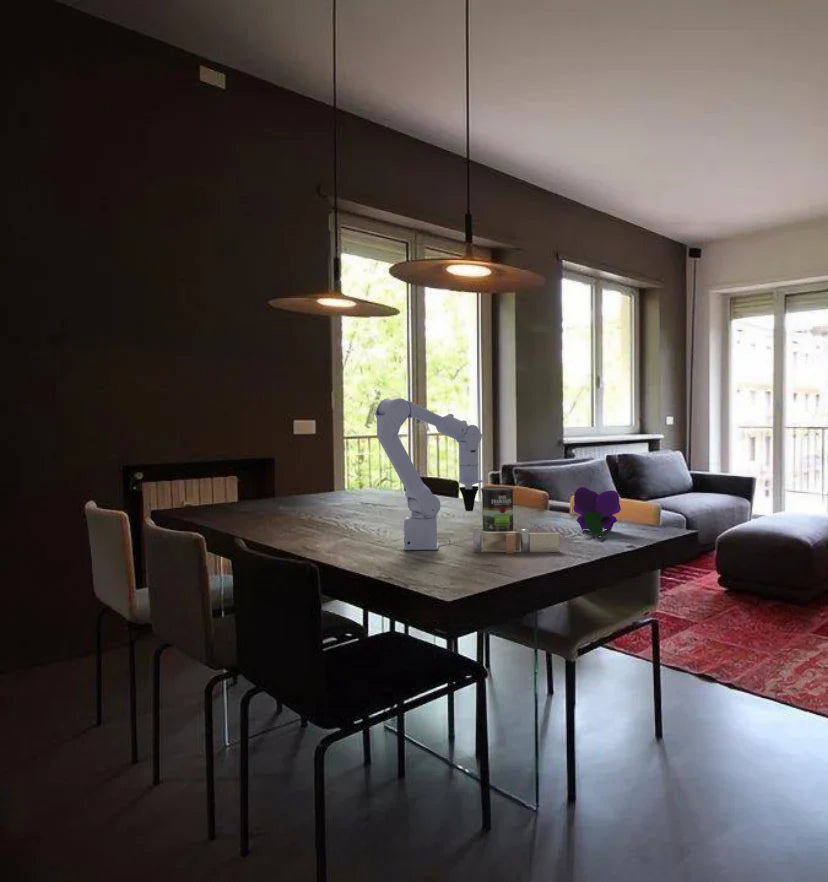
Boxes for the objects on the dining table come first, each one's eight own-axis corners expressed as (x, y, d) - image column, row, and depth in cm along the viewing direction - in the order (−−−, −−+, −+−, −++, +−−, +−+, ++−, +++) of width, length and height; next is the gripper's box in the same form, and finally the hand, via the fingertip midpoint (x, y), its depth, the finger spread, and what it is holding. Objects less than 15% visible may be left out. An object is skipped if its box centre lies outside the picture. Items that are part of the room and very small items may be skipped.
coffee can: (518, 533, 201) (518, 489, 201) (487, 535, 199) (486, 490, 199) (507, 528, 211) (506, 485, 211) (477, 530, 209) (476, 487, 209)
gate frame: (473, 553, 174) (472, 531, 174) (473, 550, 177) (472, 529, 177) (560, 553, 172) (559, 530, 172) (558, 550, 175) (558, 528, 175)
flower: (624, 553, 193) (619, 525, 205) (627, 513, 186) (621, 487, 197) (575, 552, 196) (572, 525, 207) (576, 513, 188) (573, 487, 200)
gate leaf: (482, 550, 175) (482, 532, 175) (482, 549, 177) (482, 531, 177) (519, 550, 174) (519, 532, 174) (519, 549, 176) (519, 531, 176)
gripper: (482, 467, 181) (483, 514, 182) (482, 463, 196) (482, 507, 196) (457, 467, 182) (458, 514, 183) (459, 463, 196) (459, 507, 197)
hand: (469, 510), depth 189 cm, fingers closed
